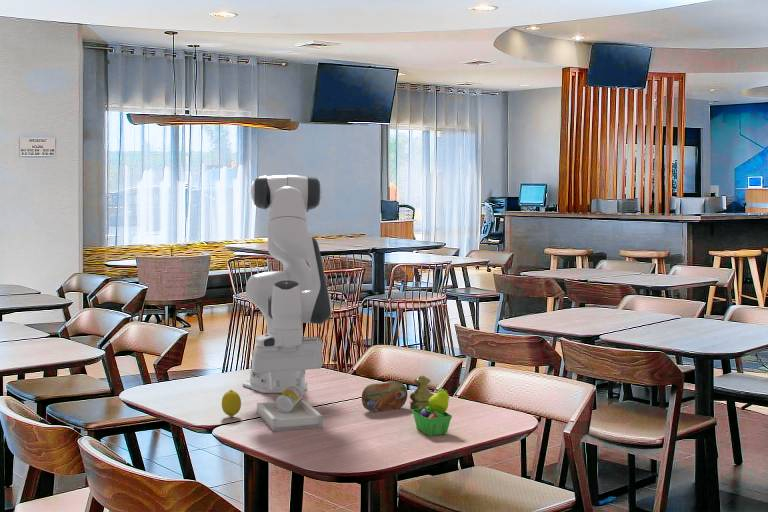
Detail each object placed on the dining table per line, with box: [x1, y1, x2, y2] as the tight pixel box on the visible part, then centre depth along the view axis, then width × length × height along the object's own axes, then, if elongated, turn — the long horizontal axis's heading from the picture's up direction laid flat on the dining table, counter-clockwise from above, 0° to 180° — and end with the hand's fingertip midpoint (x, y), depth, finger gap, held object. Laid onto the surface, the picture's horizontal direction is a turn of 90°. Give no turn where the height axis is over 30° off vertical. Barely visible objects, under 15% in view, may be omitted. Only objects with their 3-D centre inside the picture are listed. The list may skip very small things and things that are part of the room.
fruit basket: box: [411, 388, 453, 437], centre depth 249 cm, size 11×9×11 cm
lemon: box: [221, 389, 242, 418], centre depth 264 cm, size 6×6×8 cm
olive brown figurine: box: [409, 375, 435, 411], centre depth 274 cm, size 7×7×10 cm
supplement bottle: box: [275, 385, 306, 413], centre depth 269 cm, size 5×5×10 cm
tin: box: [361, 380, 408, 413], centre depth 273 cm, size 15×3×8 cm, turn 122°
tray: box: [256, 398, 324, 432], centre depth 261 cm, size 22×14×3 cm, turn 19°
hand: (287, 386), depth 263 cm, fingers open, 5 cm apart
